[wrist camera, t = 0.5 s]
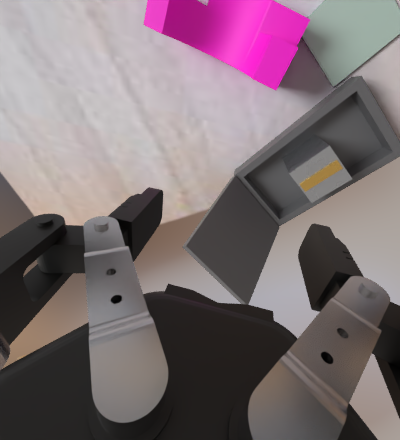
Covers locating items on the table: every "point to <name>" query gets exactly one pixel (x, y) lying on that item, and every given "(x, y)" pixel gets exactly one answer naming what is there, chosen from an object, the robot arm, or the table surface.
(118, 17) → the table surface
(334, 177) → the block
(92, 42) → the table surface
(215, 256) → the case
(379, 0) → the mat
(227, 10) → the toy block
